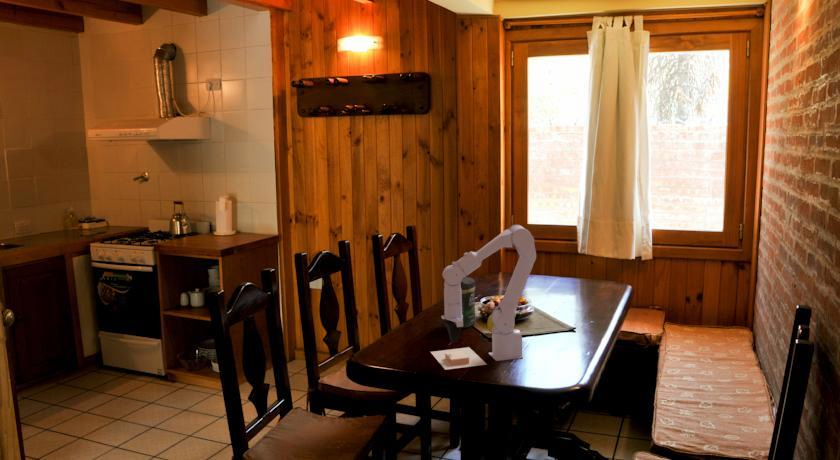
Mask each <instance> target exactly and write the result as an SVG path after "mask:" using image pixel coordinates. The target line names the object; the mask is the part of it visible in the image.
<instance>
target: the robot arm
mask: <svg viewBox="0 0 840 460" xmlns="http://www.w3.org/2000/svg"><path fill="white" fill-rule="evenodd" d="M513 246H514V247H515V250H516V251H517V253H518V256H519V257H518V260H517V263H516V265H515V268H514V270H513V273H512V275H511V277H510V281H509V283H508V285H507V287H506V290H505V292H504V295H503V298H502V300H501V301H500V302H498V304H497V305H498V306H497V307H496V308H495V309H494V310H493V311H492V312H491V314H490V315H491V319H492V322H493V323H494V327H493V328H492V332H491V341H492V342H491V343H492V349H491V350H492V351H491V352H488V355H489V356H490V357H492V358H493V360H495V361H496V362H498V361H506V360H516V359H523V358H524V356H523V336H522V332H521V330H520V329H518V328H516V329H515V325H516V324H515V318H516V316H517V307H518V304H519V302H520V298H521V296H522V294H523V292H524V289H525V286H526V284H527V282H528V279H529V277H530V274H531V272H532V270H533V266H534V264H535V262H536V260H537V251H536V246H535V238H534V236H533V235H532V233H531V232H530V231H529V229H527V228H525V227H524V226H522V225H520V224H514V225H511V226H510V227H509V228H506V229H505V230H503V231H502V232H500V234H498V235H497V236H495V237H494V238H493V239H492V240H490V241H489V242H488V243H486V244H485V245H484V246H482V247H481V248H480V249H479V250H477V251H469V252H468V251H466V252H464V253H463V256H462V257H460V258H458V260H456V261H452V262H451V265H447V266H446V267H444V268H443V271H442V274H441V276H442V278H443V279H444V280H443V281H444V283H443V286H444V288H443V299H444V301H443V304H444V315H441V319H442V320H444V321H443V324H444V325H445V327H446V329H447V333H448V336H449V340H450V343H452V344H456V343H458V342H459V339H460V333H461V330H462V328H464V327H463V324H464V323H463V320H462V319H463V315H462V293H461V281H462V278H463V277H468V275H470V274H471V273H473V272H474V271H476V270H478V269H479V268H480V267H481V266H482V262H483V260H485V259H486V258H488V257H490V256H492V254H494V253H496V252H498V251H499V250H501V249H502V248H514V247H513Z"/></svg>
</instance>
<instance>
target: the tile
mask: <svg viewBox="0 0 840 460" xmlns="http://www.w3.org/2000/svg"><path fill="white" fill-rule="evenodd" d="M445 359H446V360H447V361H448V362H449V363H450V364H451V365H459V364H467V363H469V357H468V356H467V355H466V354H465V353H464V352H463V351H455V352H447V353H445Z"/></svg>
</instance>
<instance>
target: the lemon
mask: <svg viewBox="0 0 840 460" xmlns="http://www.w3.org/2000/svg"><path fill="white" fill-rule="evenodd" d="M491 315H492V314H490V315H489V316H488V318H487V322H486V324H487V329H488V330H489V331H490V333H492V328H493V327H494V323H493V322H492V319H491Z"/></svg>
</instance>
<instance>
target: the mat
mask: <svg viewBox="0 0 840 460" xmlns="http://www.w3.org/2000/svg"><path fill="white" fill-rule="evenodd" d="M455 351H463V352H464V353H465V354H466V355H467V356H468V357H469V363H467V364H459V365H451V364H450V363H449V362H448V361H447V360H446V359H445V353H447V352H455ZM430 353H431V355H432V356H433V357H434V358H435V359H436V360H437V362H438V364H440V365H441V367H442V368H443V369H444V370H446V371H447V370H448V371H449V370H454V369H461V368H470V367H478V366H485V365H488V364H487V363H486V362H485V361H484V360H483V359H482V358H481V357H480V355H478V354H477V353H476V352H475V351H474V350H473V349H471V347H469V346H467V347H460V348H452V349H444V350H443V349H442V350H436V351H435V350H434V351H430Z"/></svg>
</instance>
